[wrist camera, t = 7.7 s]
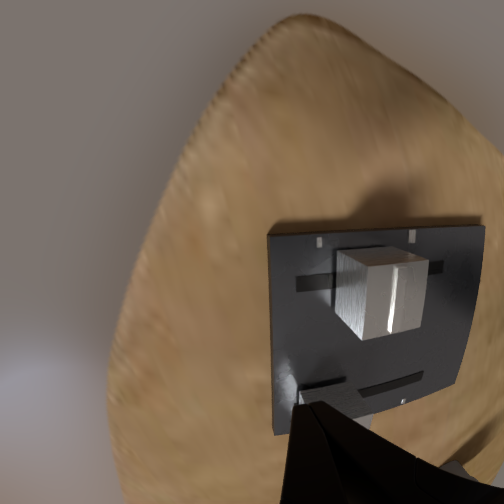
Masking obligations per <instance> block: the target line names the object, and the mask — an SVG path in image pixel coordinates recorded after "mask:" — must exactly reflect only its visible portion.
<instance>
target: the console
mask: <svg viewBox="0 0 504 504" xmlns="http://www.w3.org/2000/svg"><path fill="white" fill-rule="evenodd" d="M484 240H485V226H483V225H478V224H475V225H445V226H419V227H396V228H374V229H354V230H335V231H317V232H300V233H284V234H268V235H267V250H268V277H269V307H270V341H271V383H272V429H273V432H274V436H276V435H283V434H289V433H290V425H291V417H292V408H293V406H294V405H299V391H303V390H309V389H315V388H320V387H325V386H330V385H335V384H340V383H344V382H349V381H351V382H352V383H353V385H354V386H355V388H356V389H357V391H358V392H359V393H360V395H361V396H362V398H363V399H364V401H365V402H366V403H367V405H368V406H369V408H370V409H371V411H372V412H373V414H375V413H378V412H382V411H385V410H388V409H391V408H394V407H397V406H400V405H403V404H406V403H408V402H411V401H414V400H416V399H419V398H422V397H424V396H427V395H429V394H432V393H434V392H436V391H439V390H441V389H444V388H446V387H448V386H450V385H453V384H455V381H456V378H457V375H458V372H459V369H460V365H461V362H462V359H463V355H464V352H465V348H466V345H467V341H468V337H469V333H470V329H471V325H472V320H473V316H474V311H475V306H476V301H477V295H478V289H479V283H480V276H481V269H482V261H483V251H484ZM388 246H392V247H395V248H398V249H401V250H403V251H406V252H409V253H412V254H414V255H417V256H420V257H423V258H425V259H428V260H429V266H428V276H427V285H426V293H425V300H424V307H423V314H422V320H421V325H420V327H419V328H415V329H411V330H407V331H403V332H398V333H394V334H390V335H385V336H381V337H376V338H372V339H367V340H361V339H360V338H359V337H358V336H357V335H356V334H355V333H354V332H353V331H352V329H351V328H350V327H349V326H348V325H347V324H346V323H345V322H344V321H343V320H342V319H341V318H340V317H339V316H338V315H337V314H336V313H335V301H336V273H337V250H350V249H363V248H376V247H388Z"/></svg>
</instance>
